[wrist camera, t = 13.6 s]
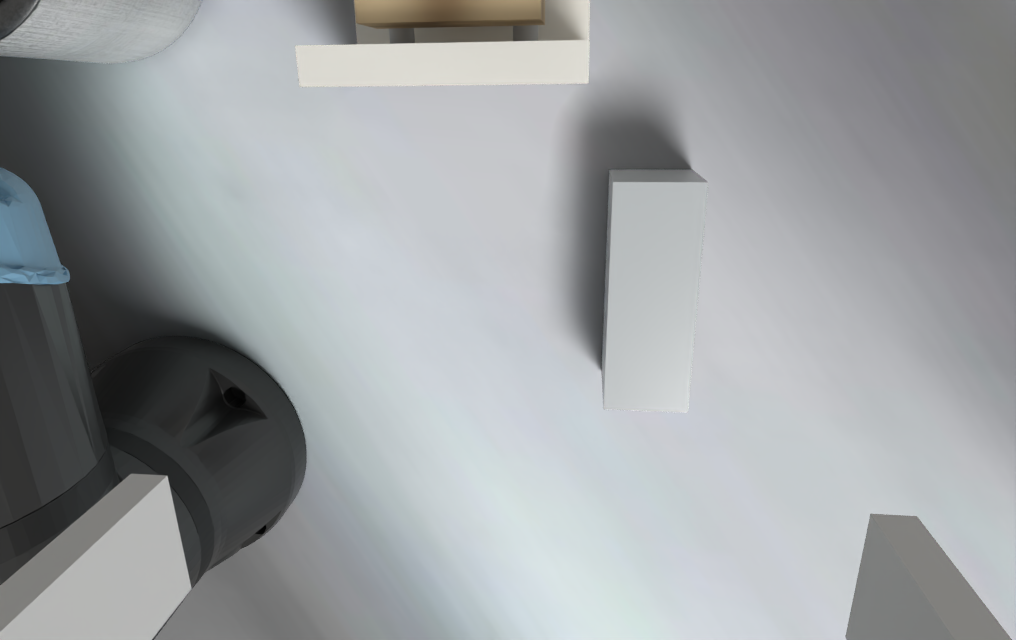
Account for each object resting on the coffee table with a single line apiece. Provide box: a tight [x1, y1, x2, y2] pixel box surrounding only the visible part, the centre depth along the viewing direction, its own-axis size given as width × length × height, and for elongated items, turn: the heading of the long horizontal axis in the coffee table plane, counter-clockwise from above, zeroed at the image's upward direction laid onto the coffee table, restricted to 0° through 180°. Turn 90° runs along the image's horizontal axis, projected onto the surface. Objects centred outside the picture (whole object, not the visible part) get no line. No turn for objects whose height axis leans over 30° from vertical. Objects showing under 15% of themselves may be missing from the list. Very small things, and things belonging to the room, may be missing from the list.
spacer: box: [602, 169, 709, 413], centre depth 35 cm, size 4×12×5 cm, turn 1°
